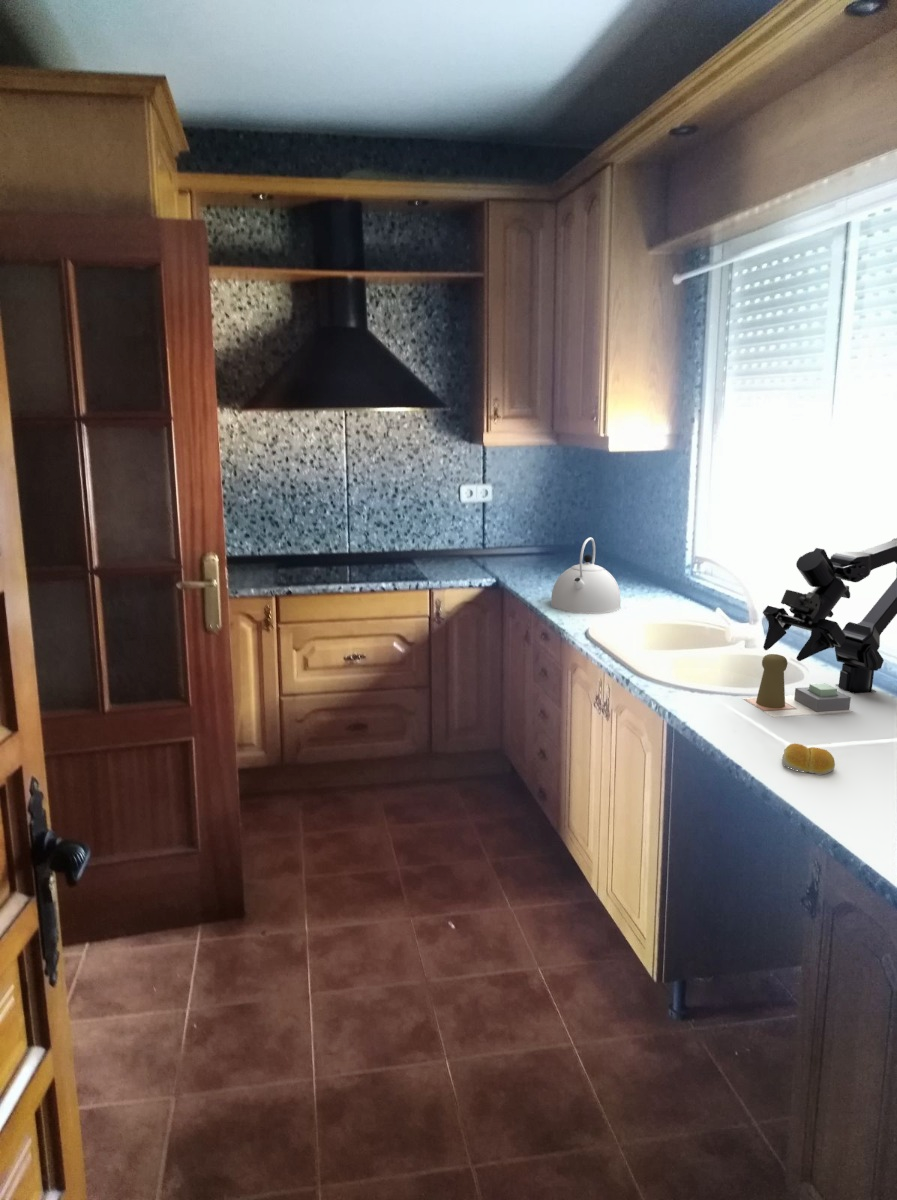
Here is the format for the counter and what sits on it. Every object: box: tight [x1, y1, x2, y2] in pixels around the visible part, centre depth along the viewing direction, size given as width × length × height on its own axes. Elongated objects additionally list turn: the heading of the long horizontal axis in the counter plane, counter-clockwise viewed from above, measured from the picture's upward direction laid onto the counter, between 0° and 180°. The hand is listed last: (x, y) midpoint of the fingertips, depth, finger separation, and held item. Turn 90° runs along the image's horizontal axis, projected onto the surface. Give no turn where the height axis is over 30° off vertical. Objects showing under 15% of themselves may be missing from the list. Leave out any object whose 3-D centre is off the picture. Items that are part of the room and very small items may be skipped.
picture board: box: [743, 686, 853, 718], centre depth 192 cm, size 19×12×3 cm, turn 103°
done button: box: [808, 682, 838, 697], centre depth 191 cm, size 4×4×2 cm
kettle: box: [550, 537, 622, 615], centre depth 284 cm, size 25×23×23 cm
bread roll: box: [781, 743, 836, 775], centre depth 160 cm, size 8×9×4 cm
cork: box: [756, 653, 789, 708], centre depth 191 cm, size 6×6×11 cm
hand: (780, 654), depth 190 cm, fingers open, 9 cm apart
